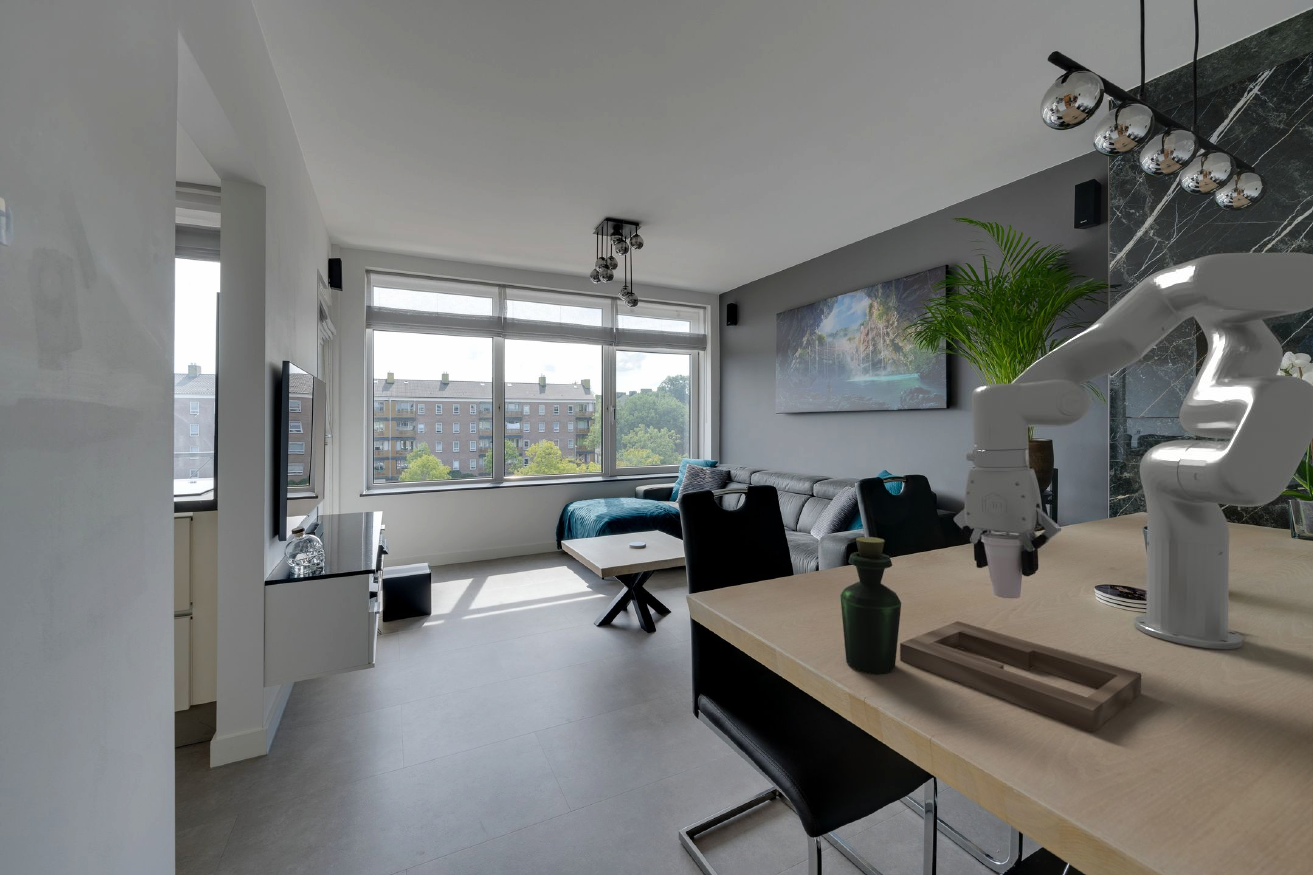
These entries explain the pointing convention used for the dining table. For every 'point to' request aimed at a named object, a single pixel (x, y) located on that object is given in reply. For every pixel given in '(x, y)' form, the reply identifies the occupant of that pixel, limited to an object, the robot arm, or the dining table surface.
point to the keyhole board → (990, 677)
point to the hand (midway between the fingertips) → (1005, 569)
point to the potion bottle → (870, 611)
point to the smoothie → (1004, 563)
